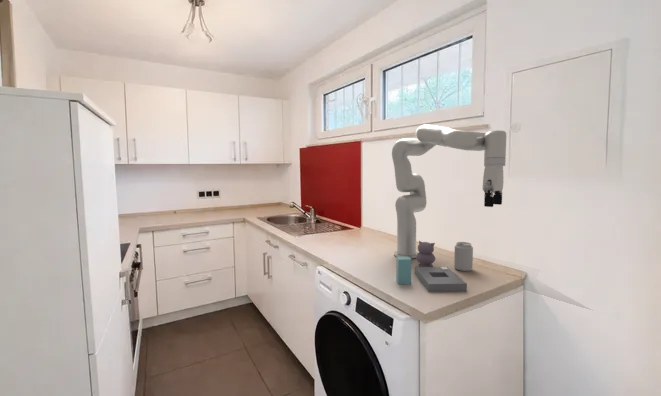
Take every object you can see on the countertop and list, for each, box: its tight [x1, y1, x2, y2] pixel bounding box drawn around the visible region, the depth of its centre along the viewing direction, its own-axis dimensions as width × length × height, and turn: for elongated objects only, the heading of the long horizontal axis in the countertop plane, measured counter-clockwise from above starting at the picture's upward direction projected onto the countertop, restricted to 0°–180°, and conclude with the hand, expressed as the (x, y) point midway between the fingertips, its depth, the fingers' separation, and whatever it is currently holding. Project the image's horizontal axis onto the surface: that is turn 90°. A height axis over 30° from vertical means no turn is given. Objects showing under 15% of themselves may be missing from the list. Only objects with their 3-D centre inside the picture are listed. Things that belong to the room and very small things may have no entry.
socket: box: [414, 266, 468, 293], centre depth 126 cm, size 20×14×4 cm
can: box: [453, 241, 474, 272], centre depth 141 cm, size 8×8×12 cm
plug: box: [395, 256, 412, 285], centre depth 126 cm, size 4×5×10 cm
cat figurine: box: [415, 240, 436, 267], centre depth 144 cm, size 8×8×12 cm
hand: (493, 205), depth 127 cm, fingers open, 9 cm apart
